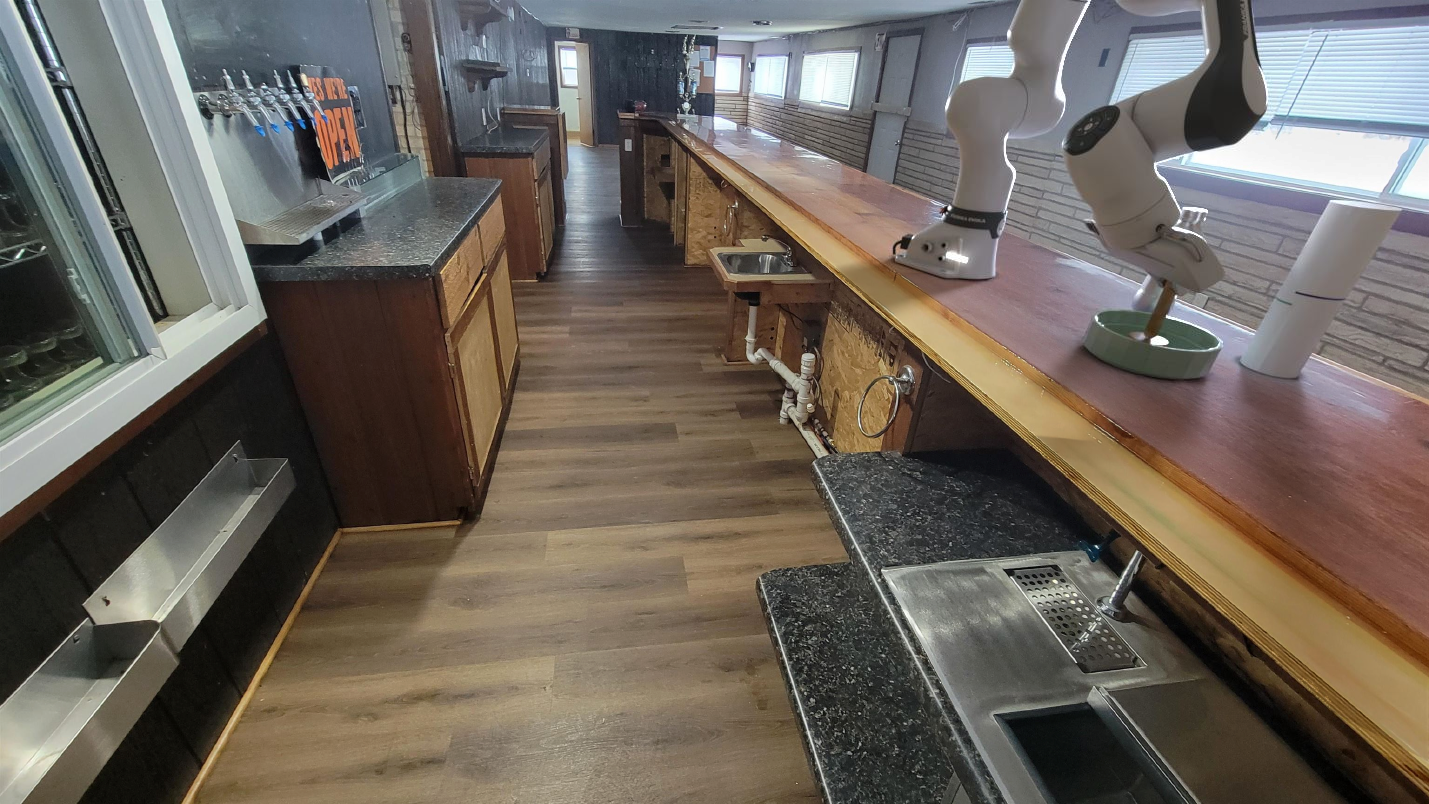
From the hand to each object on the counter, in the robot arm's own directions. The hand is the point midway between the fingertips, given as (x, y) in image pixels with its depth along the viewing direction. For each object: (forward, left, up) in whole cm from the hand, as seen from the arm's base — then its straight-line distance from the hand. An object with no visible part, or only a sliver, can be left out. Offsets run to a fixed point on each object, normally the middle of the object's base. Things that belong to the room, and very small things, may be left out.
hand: (1175, 288), depth 84 cm
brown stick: (0, 0, -10) cm, 10 cm away
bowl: (0, +2, -12) cm, 12 cm away
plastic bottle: (-4, +26, -12) cm, 29 cm away
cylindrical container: (+15, +14, -12) cm, 24 cm away
